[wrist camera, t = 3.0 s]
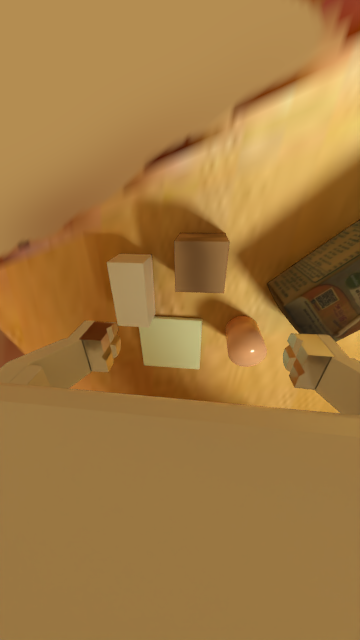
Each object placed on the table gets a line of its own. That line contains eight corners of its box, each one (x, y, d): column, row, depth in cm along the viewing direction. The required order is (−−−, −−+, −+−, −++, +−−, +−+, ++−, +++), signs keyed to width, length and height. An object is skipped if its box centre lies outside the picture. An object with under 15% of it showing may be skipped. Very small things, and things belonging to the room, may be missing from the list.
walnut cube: (225, 233, 23) (229, 241, 19) (221, 276, 25) (223, 293, 21) (180, 232, 23) (174, 241, 19) (180, 275, 26) (175, 291, 22)
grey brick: (120, 253, 25) (106, 262, 22) (151, 254, 25) (143, 263, 22) (128, 310, 29) (117, 325, 26) (155, 312, 29) (148, 327, 26)
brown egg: (260, 316, 27) (270, 339, 23) (254, 343, 30) (262, 367, 26) (226, 315, 28) (230, 336, 24) (223, 341, 30) (226, 365, 26)
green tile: (202, 318, 29) (202, 320, 28) (199, 366, 33) (199, 369, 33) (138, 315, 29) (137, 317, 29) (144, 362, 34) (143, 365, 34)
